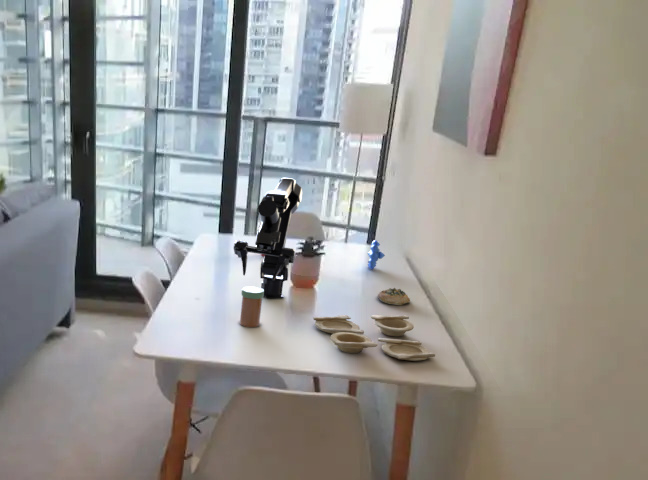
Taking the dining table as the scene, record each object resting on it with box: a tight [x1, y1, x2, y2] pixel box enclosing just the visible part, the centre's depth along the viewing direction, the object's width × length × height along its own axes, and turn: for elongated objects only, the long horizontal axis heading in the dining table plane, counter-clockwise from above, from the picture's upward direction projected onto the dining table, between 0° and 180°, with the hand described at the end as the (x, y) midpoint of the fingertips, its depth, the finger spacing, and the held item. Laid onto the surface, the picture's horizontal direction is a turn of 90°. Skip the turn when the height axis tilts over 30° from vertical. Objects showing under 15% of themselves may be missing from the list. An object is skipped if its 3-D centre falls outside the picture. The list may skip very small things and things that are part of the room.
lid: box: [240, 286, 265, 299], centre depth 217 cm, size 7×7×2 cm
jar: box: [239, 295, 263, 328], centre depth 219 cm, size 6×6×11 cm
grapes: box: [367, 239, 386, 270], centre depth 289 cm, size 12×7×12 cm, turn 160°
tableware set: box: [312, 314, 436, 362], centre depth 211 cm, size 35×29×4 cm
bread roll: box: [377, 287, 411, 306], centre depth 250 cm, size 11×11×5 cm
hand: (258, 277), depth 222 cm, fingers open, 9 cm apart
